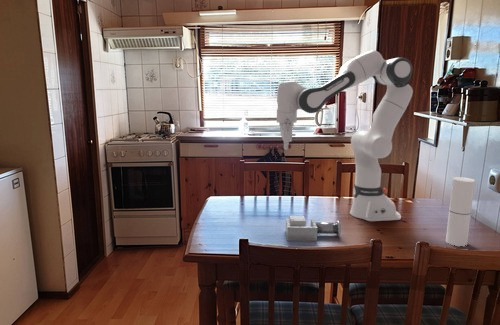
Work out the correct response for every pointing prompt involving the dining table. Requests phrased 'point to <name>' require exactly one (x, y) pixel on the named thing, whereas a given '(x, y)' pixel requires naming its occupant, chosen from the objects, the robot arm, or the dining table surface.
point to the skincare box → (297, 221)
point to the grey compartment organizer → (311, 230)
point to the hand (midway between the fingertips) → (285, 149)
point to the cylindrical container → (460, 211)
